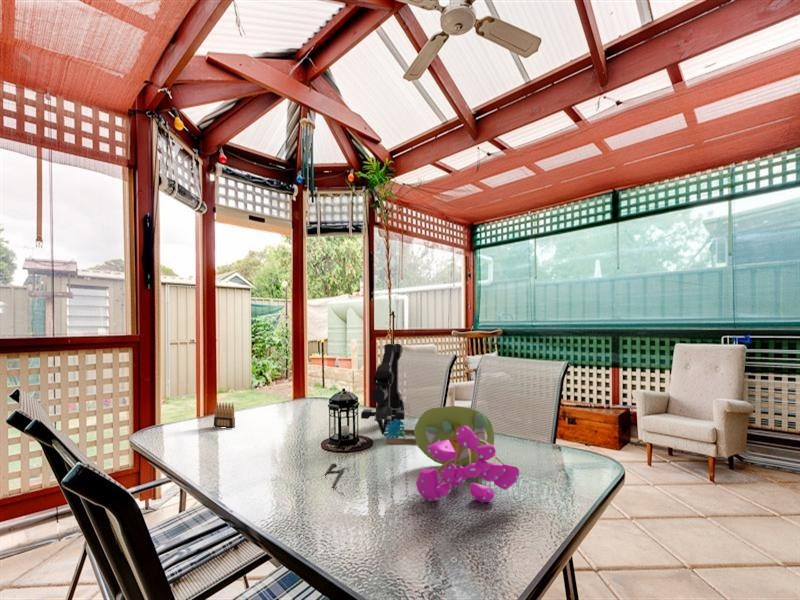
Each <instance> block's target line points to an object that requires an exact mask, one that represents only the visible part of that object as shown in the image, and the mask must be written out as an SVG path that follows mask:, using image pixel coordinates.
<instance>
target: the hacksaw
mask: <svg viewBox="0 0 800 600" xmlns="http://www.w3.org/2000/svg"><path fill="white" fill-rule="evenodd" d="M335 467H336V468H337V467H338V465H337V463H334V462H333V463H331V464H330V467H329V468H328V470H326V473H324V474H325V476H326V475H327V474H328V475H329V474H337V473H336V472H338V474H337V476H336V478H335V480H334V482H333V484H332V485H333V486H331V488H333V491H335V490H336V491H337V488H338V486H337V484H338V483H339V481H340V479H341V478H342V476H343V475H344V472H345V470H346V467H343V468H341V469H338V470H334V469H335ZM333 468H334V469H333ZM332 469H333V470H332ZM347 469H348V470H350V467H347ZM331 470H332V471H331ZM341 475H342V476H341ZM340 477H341V478H340ZM339 478H340V479H339ZM337 482H338V483H337ZM335 486H336V488H335ZM338 492H339V491H338ZM341 493H342V492H339V493H338V494H341ZM342 494H343V495H344V493H342ZM342 494H341V495H342Z"/></svg>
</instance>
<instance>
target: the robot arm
mask: <svg viewBox="0 0 800 600" xmlns="http://www.w3.org/2000/svg"><path fill="white" fill-rule="evenodd" d="M403 347H404V346H403V345H401V344H400V343H386V344H384V347H383V348H384V351H383V356H382V359H381V364H379V366H377V368H376V370H375V371H374V374H373V375H374V376H373V381H372V387H375V389H374V390H373V391H372V392H371V395H370V396H371V400H372V401H373V402H374V403H376V407H375V411H373V410H372V409H363V410H362V411H361V413H360V419H364V420H369V419H370V418H371V417H374V422H375V421H376V422H377V424H378V426H379V429H380V432H381V435H382V436H384V433H386V432H385V429H386V430H387V427H386V425H387V424H388V425H390V421H393V422H394V419H397V421H398V420H401V421H403V420H405V416H406V414H405V413H406V412H405V403H404V401H403V399H402V394H401V392H400V390H399V360H400V359H401V357H402V354H403V349H404V348H403ZM392 424H393V423H392ZM398 424H399V423H398Z"/></svg>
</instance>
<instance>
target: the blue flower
mask: <svg viewBox="0 0 800 600" xmlns="http://www.w3.org/2000/svg"><path fill="white" fill-rule="evenodd" d="M392 423H393V424H392ZM398 423H399V424H398ZM400 429H402V430H404V429H406V428H405V423H404V421H403V420H398V421H397V419H394V422H393V421H390V424H388V423H387V425H386V429H385V432H384V435H383V436H384V437H385V438H386V439H387V438H400V437H401V438H407V437H406V436H405V432H404V431H400Z"/></svg>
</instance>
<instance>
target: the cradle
mask: <svg viewBox="0 0 800 600" xmlns="http://www.w3.org/2000/svg"><path fill="white" fill-rule="evenodd" d="M400 431H404V432H405V434H413V435H412V436H415V434H414V429H406V428H404V430H402V429H400ZM386 444H390V445H392V444H394V445H417V444H416V440H415V437H413V438H407V437H406V438H403V437H401V438H400V437H398V438H395V437H394V438H391V437H390V438H386Z"/></svg>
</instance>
